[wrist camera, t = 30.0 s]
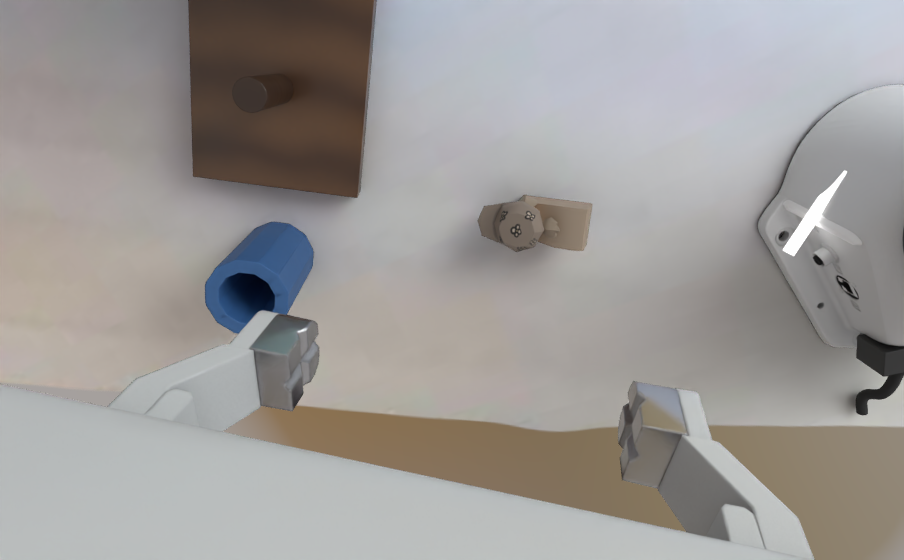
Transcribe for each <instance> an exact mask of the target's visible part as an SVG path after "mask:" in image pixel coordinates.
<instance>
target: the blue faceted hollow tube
mask: <svg viewBox="0 0 904 560" xmlns="http://www.w3.org/2000/svg"><path fill="white" fill-rule="evenodd" d="M312 266H313V248H312V247H311V245H310V243H309V241H308V239H307V237H306V235H305V234H304V233H302V232H301V231H299V230H298V229H296V228H295V227H293V226H292V225H290V224H286V223H278V222H270V223H267V224H265V225H262V226H260V227H257V228H256V229H254V230H253V231H252V232H251V233H250V234H249V235H248V236H247V237H246V238H245V239H244V240H243V241H242V242H241V243H240V244H239V245H238V246H237V247H236V248H235V249H234V250H233V251H232V252H231V253H230V254H229V255H228V256H227V257H226V258H225V259H224V260H223V261H222V262H221V263H220V264H219V265H218V266H217V267H216V268H215V270H214V271H213V273H212V274H211V276H210V277H209V279H208V280H207V282H206V284H205V303H206V306H207V307H208V309H209V310H210V312H211V314H212V315H213V317H214V318H215V320H216V321H217V323H219V324H221V325H222V326H224V327H226V328H227V329H229V330H231V331H232V332H234V333H238V334H239V333H240V331H241V330H242V329H243V328H244V327H245V326H246V325H247V323H248V322H249V321H250V320H251V319H252V318H253V317H254V315H255V314H256V313H257V312H259V311H261V310H265V311H270V312H274V313H279V314H285V315H287V313H288V311H289V309H290V308H291V306H292V304H293V302H294V300H295V298H296V296H297V295H298V293H299V291H300V289H301V287H302V285H303V283H304V282H305V280H306V278H307V276H308V274H309V272H310V271H311V269H312Z"/></svg>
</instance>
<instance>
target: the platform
mask: <svg viewBox="0 0 904 560" xmlns="http://www.w3.org/2000/svg"><path fill="white" fill-rule="evenodd" d="M188 2H189V40H190V78H191V116H192V154H193V176H194V177H201V178H209V179H216V180H224V181H232V182H239V183H247V184H255V185H262V186H270V187H278V188H285V189H293V190H301V191H308V192H316V193H324V194H331V195H339V196H347V197H354V198H357V197H358V195H359V193H360V190H361V178H362V166H363V154H364V143H365V131H366V119H367V107H368V96H369V84H370V72H371V60H372V49H373V37H374V25H375V14H376V2H377V0H188Z"/></svg>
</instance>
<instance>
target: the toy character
mask: <svg viewBox="0 0 904 560" xmlns="http://www.w3.org/2000/svg"><path fill="white" fill-rule="evenodd" d="M591 211H592V204H591V203H584V202H576V201H568V200H560V199H552V198H543V197H535V196H527V195H523V197H522V198H521V199H520V200H519V201H518V202H509V203H501V204H495V205H488V206H484V208H483V210H482V212H481V214H480V216H479V219H478V224H479V227H480V231H481V234H482V236H484V237H487V238H489V239H491V240H494V241H496V242H499V243H501V244H503V245H506V246H507V247H509V248H511V249H512V250H514V251H515V252H518V251H522V250H525V249H529V248H533V247H535V245H536V243H537V242H541V243H543V244H546V245H549V246H551V247H554V248H561V249H567V250H574V251H583V250H584V248H585V246H586V245H587V238H588V231H589V224H590V218H591Z"/></svg>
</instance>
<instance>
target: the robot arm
mask: <svg viewBox="0 0 904 560" xmlns="http://www.w3.org/2000/svg"><path fill="white" fill-rule="evenodd" d="M758 230H759V233H760V235H761V236H762V238H763V240H764V242H765V243H766V245H767V247H768V248H769V250H770V252H771V254H772V255H773V257H774V259H775V260H776V262H777V264H778V266H779V267H780V269H781V271H782V273H783V274H784V276H785V278H786V279H787V281H788V283H789V285H790V286H791V288H792V290H793V292H794V293H795V295H796V297H797V298H798V300H799V302H800V304H801V305H802V307H803V309H804V311H805V312H806V314H807V316H808V317H809V319H810V321H811V323H812V324H813V326H814V328H815V329H816V331H817V333H818V335H819V336H820V338H821V339H822V340H823V342H825V343H826V344H828V345H830V346H832V347H838V348H854V347H857V355H856V358H857V359H859V360H860V361H862V362H863V363H865V364H866V365H868V366H869V367H870V368H872V369H873V370H875V371H876V372H878V373H879V374H881V375H882V376H888V378H887V380H886V382H885V383H884V384H883V386H882V387H881V388H880V389H866V390H863V391H861V392H860V393H859V394H858V395H857V397H856V413H858V414H860V415H866V414H868V408H867V402H868V400H869V399H878V400H880V399H885V398H887V397H889V396H890V395H891V394H892V393H893V392H894V391H895V390H896V389H897V388H898V386H899V384H900V382H901V380H902V378H903V376H904V84H895V85H886V86H880V87H876V88H872V89H869V90H866V91H864V92H861V93H859V94H857V95H854V96H853V97H851V98H849V99H847V100H845V101H844V102H842V103H841V104H839V105H838V106H836V107H835V108H833V109H832V110H831V111H830V112H828V113H827V114H826V115H825V116H824V117H823V118H822V119H821V120H820V121H818V122H817V124H816V125H815V126H814V127H813V128H812V129H811V130H810V132H809V133H808V134H807V135H806V137H805V138H804V139H803V141H802V142H801V144H800V145H799V147H798V149H797V151H796V152H795V154H794V156H793V158H792V160H791V163H790V165H789V168H788V171H787V173H786V176H785V179H784V182H783V185H782V187H781V189H780V191H779V193H778V194H777V196H776V197H775V198H774V199H773V201H772V202H771V203H770V204H769V206H768V207H767V208H766V210H765V211H764V212H763V214H762V216H761V217H760V219H759V222H758ZM783 231H784V234H783V236H782V237H781V238H779V235H780V233H781V232H783ZM858 334H859V335H858ZM317 335H318V324H317V323H316V322H315V321H313V320H309V319H304V318H299V317H294V316H290V315H285V314H279V313H274V312H270V311H265V310H261V311H259V312H257V313H256V314H255V315H254V317H253V318H252V319H251V320H250V321H249V322H248V323H247V325H246V326H245V327H244V328H243V329H242V330H241V331H240V333H239V334H238V335H237V336H236V337H235V338H234V339H233V341H232V342H231V343H230V344H229V345H224V344H223V345H220V346H217V347H215V348H212V349H210V350H207V351H205V352H202V353H200V354H197V355H195V356H192V357H190V358H187V359H185V360H182V361H179V362H177V363H174V364H172V365H169V366H167V367H164V368H162V369H159V370H157V371H154V372H152V373H149V374H146V375H144V376H141V377H139V378H136V379H135V380H134V381H133V382H132V383H131V384H130V385H129V386H128V387H127V388H126V389H125V390H124V391H123V392H122V393H121V394H120V395H118V396H117V397H116V398H115V399H114V401H112V402H111V403H110V404H109V405H108V406H107V407H106V406H101V405H96V404H92V403H87V402H82V401H78V400H73V399H69V398H64V397H60V396H55V395H50V394H46V393H41V392H36V391H32V390H27V389H23V388H18V387H13V386H9V385H4V384H0V560H814V557H813V555H812V552H811V550H810V547H809V545H808V542H807V539H806V537H805V534H804V532H803V529H802V527H801V524H800V522H799V519H798V517H797V516H796V515H794V514H793V512H791V511H790V510H789V509H788V508H787V507H786V506H785V505H784V504H783V503H782V502H781V501H780V500H779V499H778V498H777V497H776V496H775V495H774V494H773V493H771V492H770V491H769V490H768V489H767V488H766V487H765V486H764V485H763V484H762V483H761V482H760V481H759V480H758V479H757V478H756V477H755V476H754V475H753V474H752V473H751V472H750V471H748V470H747V469H746V468H745V467H744V466H743V465H742V464H741V463H740V462H739V461H738V460H737V459H736V458H735V457H734V456H733V455H732V454H731V453H730V452H729V451H728V450H727V449H725V448H724V447H723V446H722V445H721V444H720V443H719V442H716V441H713V440H712V437H711V434H710V430H709V427H708V423H707V420H706V417H705V413H704V410H703V406H702V403H701V399H700V396H699V394H698V393H697V392H696V391H690V390H684V389H678V388H675V389H674V388H669V387H663V386H658V385H652V384H647V383H642V382H636V381H633V382H632V384H631V386H630V388H629V391H628V399H629V403H628V404H626V405H625V406H623V409H622V412H621V415H620V420H619V426H618V442H619V445H620V446H621V447H622V448H623V451H622V454H621V457H620V464H621V473H622V480H624V481H628V482H632V483H637V484H641V485H645V486H649V487H653V488H658V491H659V492H660V494H661V495H662V497H663V498H664V500H665V501H666V502H667V504H668V506H669V507H670V508H671V510H672V511H673V513H674V514H675V516H676V517H677V519H678V520H679V521H680V523H681V524H682V526H683V527H684V529H685V530H686V532H683V531H678V530H674V529H669V528H665V527H660V526H655V525H651V524H646V523H642V522H637V521H632V520H627V519H623V518H618V517H613V516H609V515H604V514H599V513H594V512H590V511H586V510H581V509H576V508H572V507H567V506H563V505H558V504H553V503H549V502H544V501H540V500H535V499H530V498H526V497H521V496H517V495H512V494H508V493H502V492H498V491H494V490H489V489H485V488H480V487H475V486H471V485H466V484H461V483H457V482H451V481H447V480H443V479H438V478H433V477H429V476H424V475H419V474H414V473H410V472H405V471H400V470H396V469H392V468H387V467H382V466H377V465H373V464H368V463H364V462H359V461H355V460H350V459H345V458H341V457H336V456H331V455H327V454H322V453H318V452H313V451H308V450H303V449H299V448H295V447H290V446H285V445H281V444H276V443H271V442H267V441H262V440H257V439H253V438H249V437H244V436H239V435H234V434H230V433H225V432H223V431H224V430H225V429H227V428H229V427H230V426H232V425H234V424H235V423H237V422H238V421H240V420H242V419H243V418H245V417H246V416H248V415H249V414H251V413H252V412H254V411H255V410H257V409H259V408H260V407H261V406H266V407H271V408H277V409H283V410H288V411H293V409H294V408H295V406H296V405H297V403H298V401H299V400H300V398H301V397H302V395H303V385H305V384H307V383H309V382H311V380H312V378H313V377H314V375H315V372H316V369H317V366H318V362H319V347H318V345H317V344H316V343H315V341H314V340H315V338H316V337H317Z"/></svg>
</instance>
